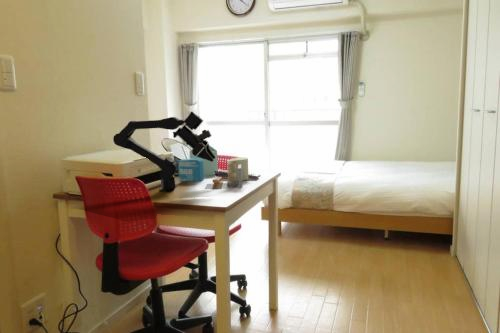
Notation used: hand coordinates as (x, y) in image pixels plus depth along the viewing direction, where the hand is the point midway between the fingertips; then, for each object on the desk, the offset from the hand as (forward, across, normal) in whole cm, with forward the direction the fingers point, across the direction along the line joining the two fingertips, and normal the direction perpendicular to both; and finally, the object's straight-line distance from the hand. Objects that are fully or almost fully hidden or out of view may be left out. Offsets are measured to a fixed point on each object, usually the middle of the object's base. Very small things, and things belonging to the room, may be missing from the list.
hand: (214, 159), depth 181 cm
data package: (0, +17, +20) cm, 26 cm away
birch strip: (+15, 0, +3) cm, 15 cm away
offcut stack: (+10, 0, +8) cm, 13 cm away
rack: (+13, 0, +7) cm, 14 cm away
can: (+18, +15, +2) cm, 24 cm away
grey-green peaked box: (+2, +35, +17) cm, 39 cm away
